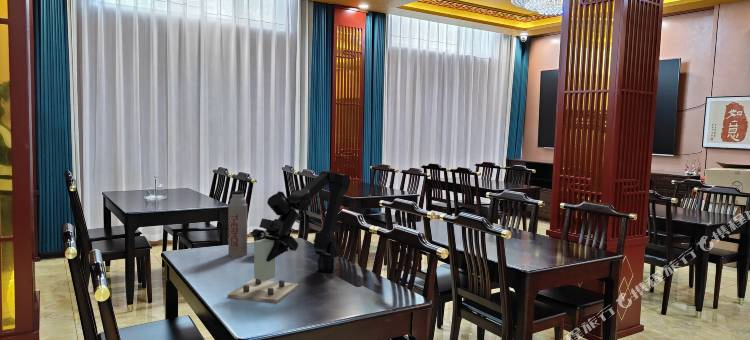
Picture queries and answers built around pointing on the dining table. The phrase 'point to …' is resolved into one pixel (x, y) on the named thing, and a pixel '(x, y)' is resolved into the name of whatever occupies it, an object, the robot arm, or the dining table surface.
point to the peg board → (263, 290)
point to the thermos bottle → (237, 225)
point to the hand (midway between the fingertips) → (261, 259)
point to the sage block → (263, 260)
